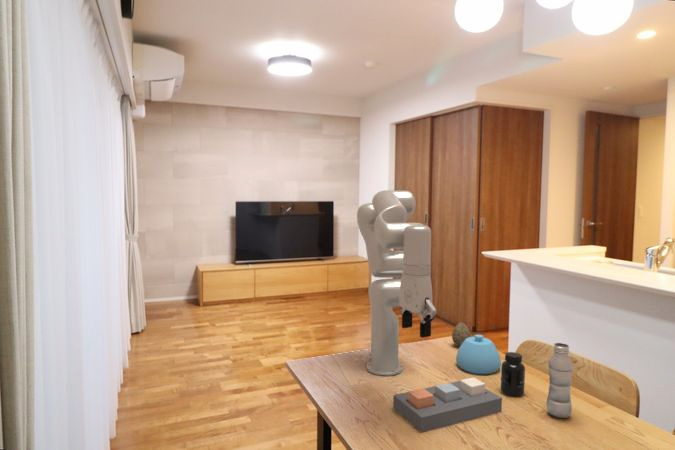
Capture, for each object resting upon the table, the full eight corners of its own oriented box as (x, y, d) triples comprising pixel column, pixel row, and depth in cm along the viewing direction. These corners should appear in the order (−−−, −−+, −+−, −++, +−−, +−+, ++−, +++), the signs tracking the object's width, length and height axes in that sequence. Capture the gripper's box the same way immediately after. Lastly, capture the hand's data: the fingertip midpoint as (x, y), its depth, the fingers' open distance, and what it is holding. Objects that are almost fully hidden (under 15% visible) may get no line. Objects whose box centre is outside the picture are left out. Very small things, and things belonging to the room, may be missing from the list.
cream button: (459, 394, 134) (460, 380, 133) (473, 391, 136) (473, 377, 135) (471, 402, 129) (471, 387, 129) (485, 398, 131) (485, 384, 131)
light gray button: (434, 400, 130) (434, 385, 130) (448, 397, 132) (449, 382, 132) (445, 408, 126) (445, 392, 125) (460, 404, 128) (460, 389, 127)
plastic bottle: (569, 411, 128) (572, 342, 127) (573, 423, 122) (576, 350, 120) (544, 407, 130) (547, 339, 129) (547, 419, 124) (549, 347, 122)
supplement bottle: (526, 398, 136) (527, 359, 135) (502, 396, 138) (503, 357, 137) (521, 388, 143) (523, 351, 142) (499, 386, 144) (500, 349, 143)
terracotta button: (407, 406, 127) (408, 391, 126) (422, 403, 129) (423, 388, 128) (418, 414, 122) (418, 398, 122) (433, 411, 124) (433, 395, 124)
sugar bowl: (476, 356, 170) (477, 326, 170) (509, 370, 158) (510, 337, 157) (447, 364, 163) (447, 333, 162) (479, 379, 150) (480, 345, 149)
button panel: (393, 408, 130) (393, 395, 130) (468, 391, 141) (468, 378, 141) (421, 432, 117) (421, 417, 117) (501, 411, 128) (501, 397, 128)
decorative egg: (460, 342, 186) (461, 318, 185) (474, 347, 180) (474, 323, 179) (448, 345, 182) (448, 321, 181) (461, 351, 176) (462, 326, 175)
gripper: (388, 266, 131) (388, 325, 133) (423, 276, 116) (422, 343, 117) (410, 264, 134) (410, 322, 136) (447, 274, 119) (446, 339, 120)
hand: (415, 331), depth 126 cm, fingers open, 8 cm apart
